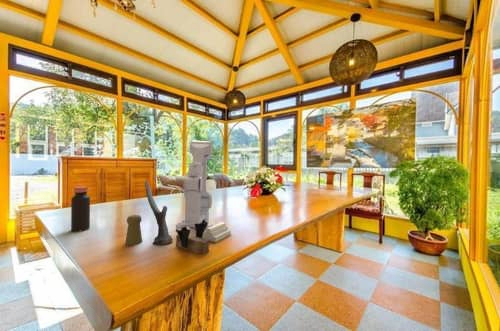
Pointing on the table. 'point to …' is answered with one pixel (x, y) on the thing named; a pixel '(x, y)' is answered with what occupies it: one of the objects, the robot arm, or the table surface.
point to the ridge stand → (216, 232)
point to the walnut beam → (195, 244)
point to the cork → (133, 230)
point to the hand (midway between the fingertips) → (192, 243)
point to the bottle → (80, 210)
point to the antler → (159, 220)
